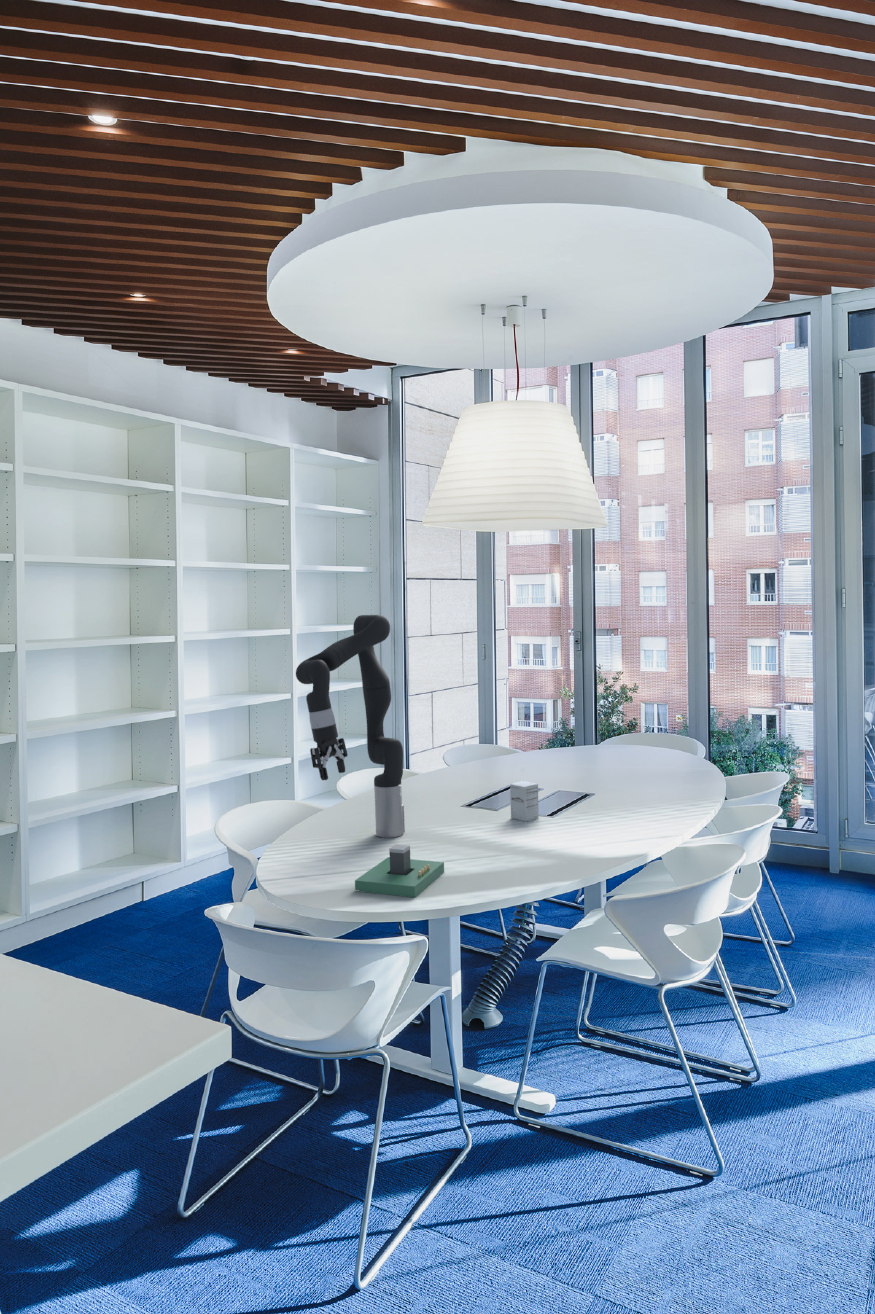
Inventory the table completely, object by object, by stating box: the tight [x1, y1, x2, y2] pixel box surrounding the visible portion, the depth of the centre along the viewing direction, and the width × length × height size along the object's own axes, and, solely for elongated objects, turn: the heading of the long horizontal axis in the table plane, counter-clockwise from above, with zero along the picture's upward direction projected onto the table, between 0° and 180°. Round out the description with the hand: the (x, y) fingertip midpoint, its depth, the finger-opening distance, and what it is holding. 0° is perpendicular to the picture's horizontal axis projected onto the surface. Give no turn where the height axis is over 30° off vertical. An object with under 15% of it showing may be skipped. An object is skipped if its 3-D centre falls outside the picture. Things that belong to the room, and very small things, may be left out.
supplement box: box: [509, 780, 540, 822], centre depth 314 cm, size 7×7×13 cm
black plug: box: [388, 843, 411, 876], centre depth 250 cm, size 4×4×10 cm
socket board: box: [354, 856, 445, 898], centre depth 250 cm, size 22×18×4 cm
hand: (333, 776), depth 269 cm, fingers open, 8 cm apart
